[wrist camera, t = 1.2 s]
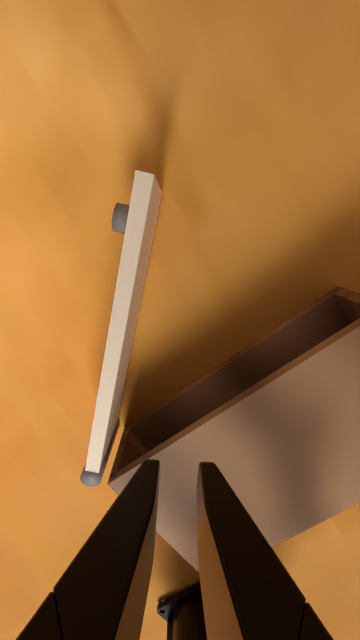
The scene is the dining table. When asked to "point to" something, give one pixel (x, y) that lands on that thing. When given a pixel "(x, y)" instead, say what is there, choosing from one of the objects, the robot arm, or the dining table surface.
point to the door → (122, 316)
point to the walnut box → (262, 429)
